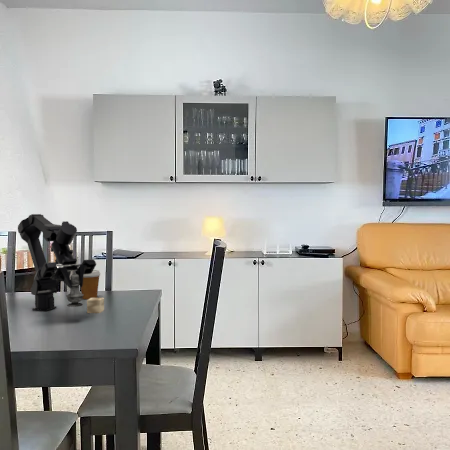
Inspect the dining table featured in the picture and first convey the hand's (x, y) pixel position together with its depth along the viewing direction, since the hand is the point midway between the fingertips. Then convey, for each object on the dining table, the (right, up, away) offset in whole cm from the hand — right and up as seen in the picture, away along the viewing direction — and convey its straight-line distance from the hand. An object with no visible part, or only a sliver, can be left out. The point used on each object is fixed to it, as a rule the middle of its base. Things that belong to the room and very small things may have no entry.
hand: (76, 287), depth 161 cm
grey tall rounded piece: (-1, -7, +1) cm, 7 cm away
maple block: (+2, -12, +17) cm, 21 cm away
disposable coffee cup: (-8, -11, +44) cm, 46 cm away
